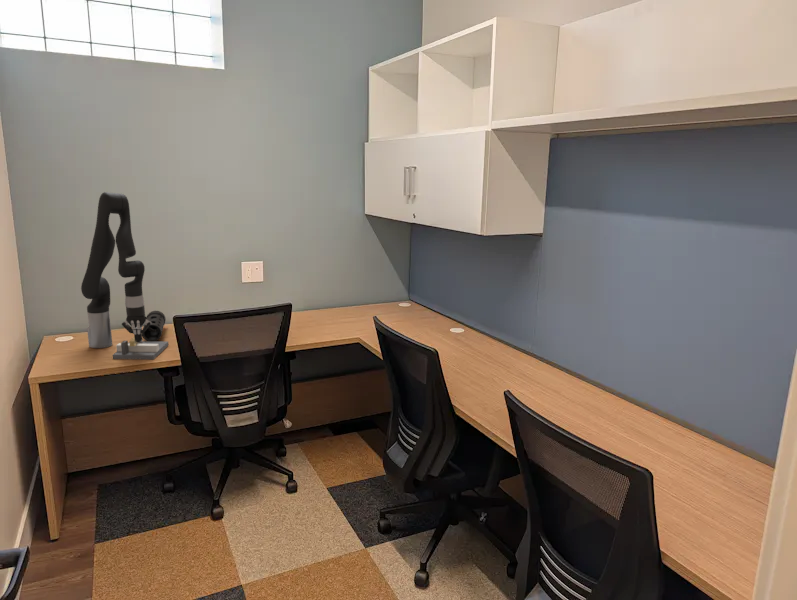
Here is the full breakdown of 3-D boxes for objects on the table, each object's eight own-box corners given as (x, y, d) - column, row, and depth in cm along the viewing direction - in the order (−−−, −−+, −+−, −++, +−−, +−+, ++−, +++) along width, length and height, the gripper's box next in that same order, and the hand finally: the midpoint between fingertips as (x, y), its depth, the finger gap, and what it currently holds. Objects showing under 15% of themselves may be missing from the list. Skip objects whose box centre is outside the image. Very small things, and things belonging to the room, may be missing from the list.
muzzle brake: (141, 344, 275) (140, 324, 272) (147, 328, 301) (145, 309, 298) (162, 343, 278) (161, 323, 275) (166, 327, 304) (165, 309, 301)
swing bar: (135, 337, 267) (135, 332, 266) (143, 337, 267) (142, 332, 267) (128, 346, 255) (127, 340, 254) (135, 346, 255) (135, 340, 255)
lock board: (112, 359, 254) (111, 343, 253) (130, 344, 274) (129, 330, 272) (153, 359, 256) (152, 343, 254) (168, 345, 275) (167, 330, 273)
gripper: (152, 302, 258) (156, 338, 262) (122, 303, 256) (126, 339, 260) (148, 306, 250) (151, 343, 254) (116, 307, 248) (120, 344, 253)
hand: (138, 341), depth 257 cm, fingers closed
